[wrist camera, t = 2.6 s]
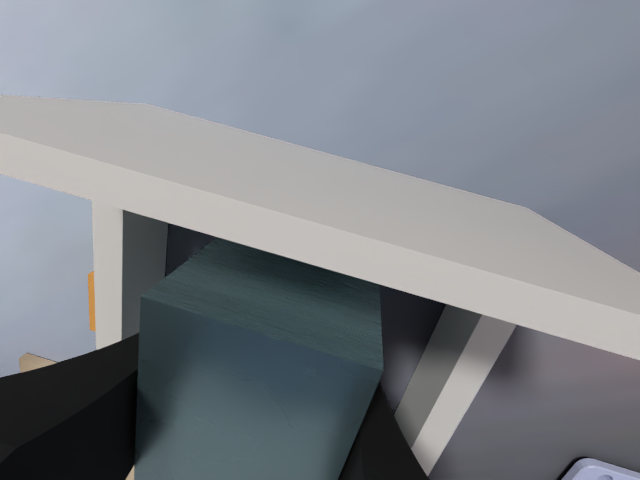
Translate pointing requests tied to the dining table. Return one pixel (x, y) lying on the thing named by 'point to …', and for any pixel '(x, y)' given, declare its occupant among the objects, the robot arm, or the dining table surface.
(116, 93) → the dining table surface
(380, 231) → the case lid
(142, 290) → the case
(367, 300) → the block
